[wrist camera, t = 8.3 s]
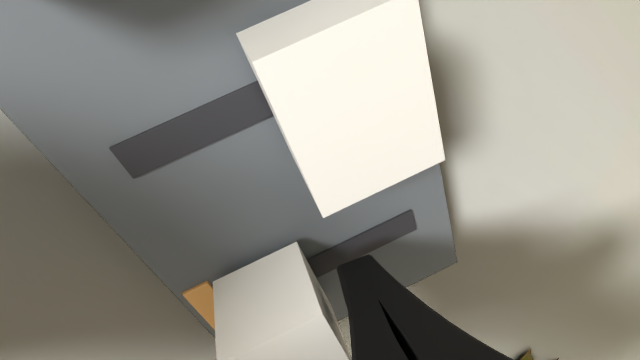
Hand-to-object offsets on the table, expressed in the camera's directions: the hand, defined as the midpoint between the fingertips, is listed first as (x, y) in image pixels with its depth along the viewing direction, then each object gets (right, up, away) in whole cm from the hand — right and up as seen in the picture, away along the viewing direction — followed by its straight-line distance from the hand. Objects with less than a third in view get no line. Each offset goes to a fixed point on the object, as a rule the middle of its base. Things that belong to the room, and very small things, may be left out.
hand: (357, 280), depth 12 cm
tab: (-1, +6, -3) cm, 7 cm away
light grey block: (-3, -1, +1) cm, 3 cm away
